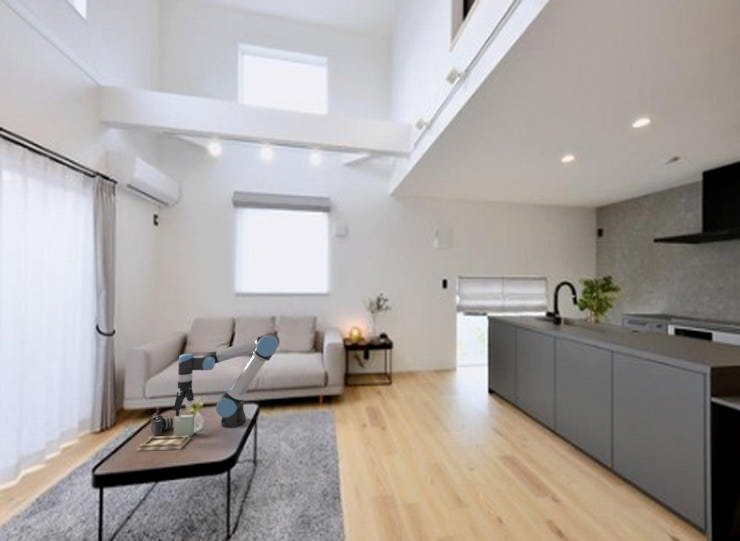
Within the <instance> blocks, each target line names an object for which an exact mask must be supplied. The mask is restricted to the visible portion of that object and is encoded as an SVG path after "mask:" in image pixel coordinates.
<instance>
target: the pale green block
mask: <svg viewBox="0 0 740 541" xmlns="http://www.w3.org/2000/svg"><path fill="white" fill-rule="evenodd" d="M194 433H195V414H181V421H175V416H174V417H173V436H186V435H189V437H192V436H193V435H194Z"/></svg>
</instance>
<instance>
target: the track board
mask: <svg viewBox="0 0 740 541" xmlns="http://www.w3.org/2000/svg"><path fill="white" fill-rule="evenodd" d="M190 439H191V436H189V435H186V436H174V435H165V436H164V435H162V436H157V437H155V436H148V437H147V439H146V440H145V441H143V442H142V443H140V444H138V446H137V449H136V451H137V452H143V451H144V452H145V451H147V452H148V451H171V450H181V449H182V448H183V447H184V446H185V445H186V444H187V443H188V442H189V441H190Z"/></svg>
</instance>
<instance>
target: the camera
mask: <svg viewBox="0 0 740 541" xmlns="http://www.w3.org/2000/svg"><path fill="white" fill-rule="evenodd" d="M150 421H151V423H150V431H151V433H152V434H153V437H157V436H163V431H167V430H170V429H172V428H173V427H174V418H172V417H164V416H163V415H162V414H158V413H156V412H155V413H153V414H152V415H151V420H150Z"/></svg>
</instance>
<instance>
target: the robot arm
mask: <svg viewBox="0 0 740 541" xmlns="http://www.w3.org/2000/svg"><path fill="white" fill-rule="evenodd" d="M279 346H280V338H279V336H278V335H277V334H276V333H273V332H268V333H266V334H264V335H260V336H258V337H256V339H253V340H249V341H246V342H243V343H240V344H239V343H238V344H235V345H231V346H229V347H226V348H222V349H219V350H216V351H210V352H207V353H206V354H205V355H203V356H202V357H196V356H195V357H194V354H193V353H182V354H181V355H179V357H178V374H177V388H178V389H179V391H177V392H176V398H175V402H174V406H173V411H175V416H174V417H175V421H181V415H182V406H183V404H184V400H185V399H186V400H187V401H186V408H185V409H186V410H185V411H186V413H191V412H192V410H191V411H190V409H189V408H188V407H187V406H189V405H193V404H192V402H193V401H194V400H195V399H194V397H195V395H194V390H193V371H212V370H214V368H215V365H216V364H218V363H221V362H225V361H228V360H232V359H235V358H238V357H242V356H245V355H248V354H252V355H251V357H250V359H248V362H247V364H246V365H245V366H244V368H243V369H242V371H241V373H240V374H239V375H238V377H237V378H236V380H235V381H234V383H233V385H230V386H226V387H225V388H224V391H223V392H224V394H223V395H222V396H221V398H220V400H218V401H217V403H216V405H215V411H216V413H217V415H218V416H220V417H221V419H220V426H221V427H223V428H237V427H240V426H242V425H244V424H245V423H246V421H247V416H246V413H245V409H244V404H245V403H244V400H245V396H244V395H245V393H246V391H247V390H248V389H249V387H250V385H251V384H252V382H254V379H255V378H256V377H257V375H258V374H259V372H260V371H261V368H262V367H263V366H264V364H266V362H269V361H270V360H271V358H272V356H273V355H274V354H275V353H276V351H277V349H278V347H279Z"/></svg>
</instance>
